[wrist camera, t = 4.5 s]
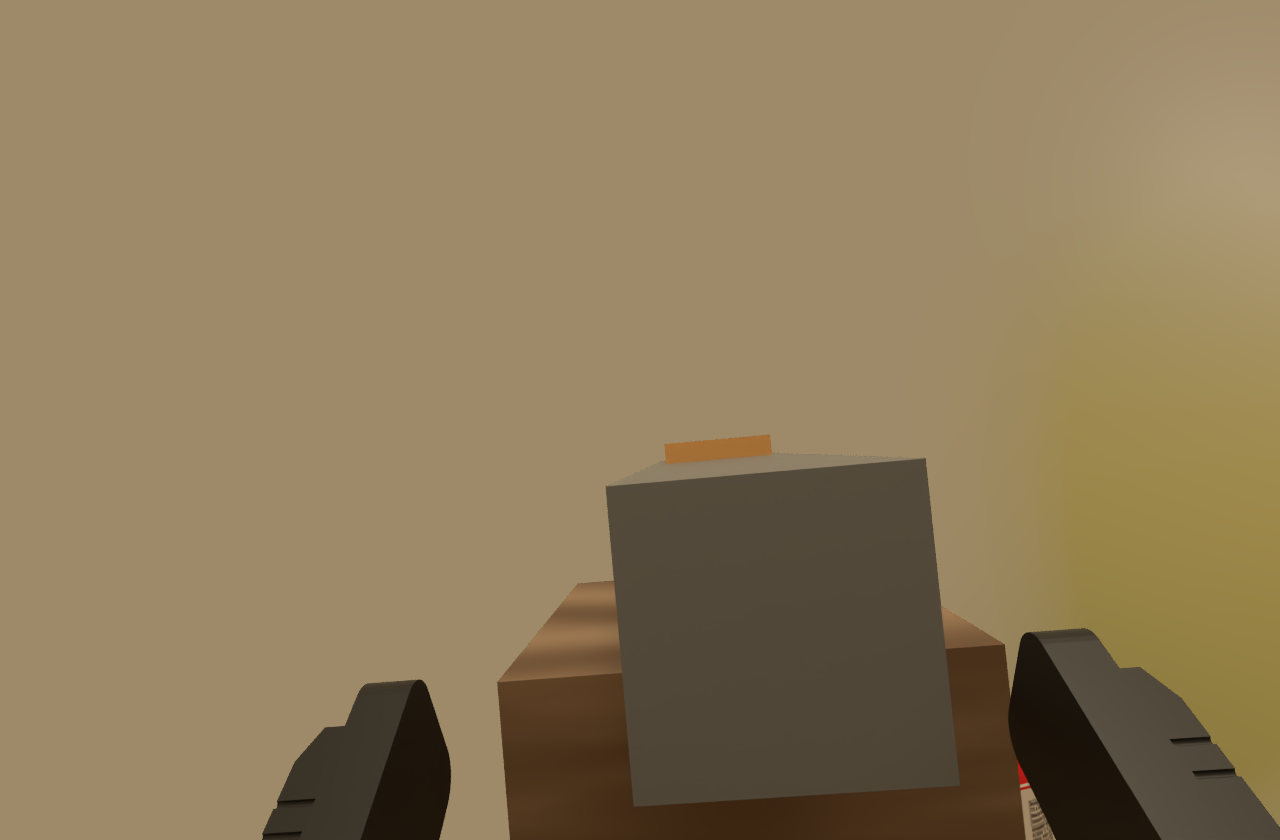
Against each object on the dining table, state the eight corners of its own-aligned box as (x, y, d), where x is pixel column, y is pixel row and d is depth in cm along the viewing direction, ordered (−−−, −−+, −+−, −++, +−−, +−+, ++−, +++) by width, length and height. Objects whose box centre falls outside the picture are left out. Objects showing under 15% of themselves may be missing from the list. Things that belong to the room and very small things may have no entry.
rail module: (959, 785, 10) (920, 410, 10) (633, 806, 10) (601, 438, 10) (770, 551, 32) (759, 437, 32) (670, 560, 32) (660, 446, 32)
